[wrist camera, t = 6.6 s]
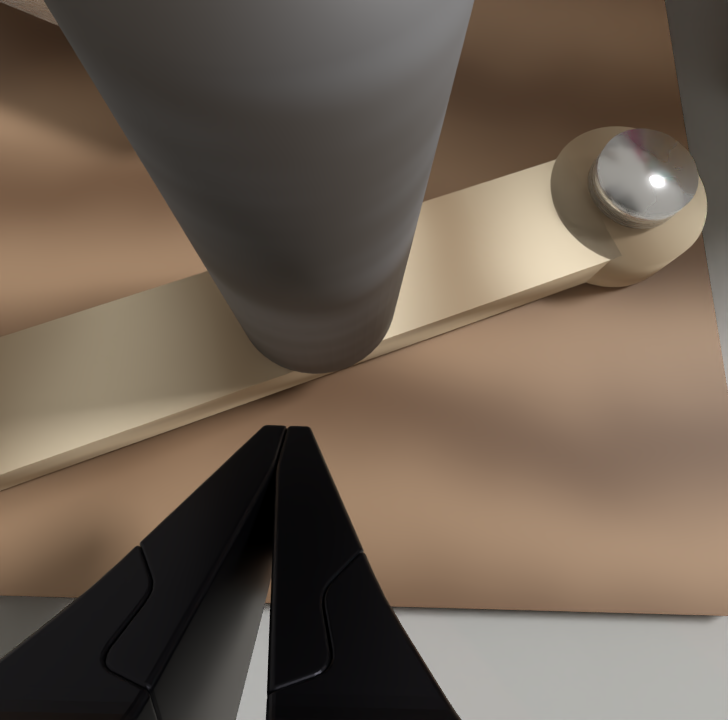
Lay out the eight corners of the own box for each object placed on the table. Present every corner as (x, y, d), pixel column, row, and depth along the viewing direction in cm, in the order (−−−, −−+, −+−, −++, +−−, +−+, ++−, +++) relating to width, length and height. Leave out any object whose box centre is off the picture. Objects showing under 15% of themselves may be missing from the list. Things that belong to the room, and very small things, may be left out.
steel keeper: (657, 183, 18) (732, 106, 14) (616, 303, 17) (688, 252, 13) (10, -73, 20) (-61, -193, 16) (-70, 17, 19) (-166, -93, 15)
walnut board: (737, 609, 15) (764, 616, 14) (-229, 582, 14) (-270, 588, 14) (644, -12, 22) (658, -36, 21) (-29, -51, 21) (-47, -77, 20)
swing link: (631, 142, 18) (1107, -455, 7) (701, 260, 17) (1417, -224, 6) (-97, 376, 15) (-1448, 1, 4) (-72, 539, 14) (-1926, 715, 3)
